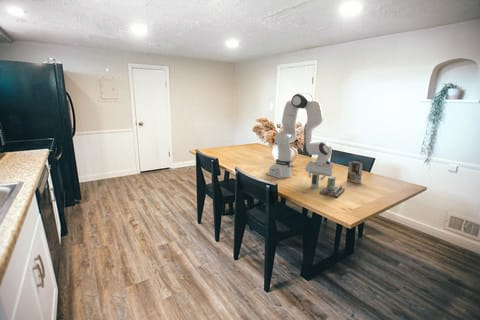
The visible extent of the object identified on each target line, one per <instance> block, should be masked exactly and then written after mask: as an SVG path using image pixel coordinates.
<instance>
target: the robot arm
mask: <svg viewBox="0 0 480 320" xmlns="http://www.w3.org/2000/svg"><path fill="white" fill-rule="evenodd" d="M299 109H302V110H305V112H306V123H305V124H304V132H303V136H304V137H303V138H304V139H303V141H304V142H303V152H304V154H305V155H306V156H308V157H309V156H317V158H316V160H315V161H307V164H306V165H305V167H304V170H305V173H308V178H310V179H312V175H311V174H312V173H314V172H316V173H320V174H319V176H321V177H320V181H323V180H324V179H325V178H326V177H330V176H331V177H333V176H332V175H333V168H334V166H333V165H334V164H333V163H332V162H330V161H329V159H330V158H331V155H332V153H333V152H332V151H333V148H332V146H331V145H330V144H327V143H325V142H324V141H323V142H322V141H317V142H312V132H313V130H314V129H315V128H317V127H319V126H320V125H321V124H322V122H323V119H324V118H323V110H322V107H321V103H320V101H319V100H317V99H314V98H313V96H312V95H311V94H309V93H296V94H294V95H293V96H292V97H291V99H290V100H288V101H286V102H285V106H284V109H283V114H282V120H281V124H282V131H279V132H278V133H276V134H275V136H274V143H275V144H276V146H277V151H278V154H277V159H275V163H273V164H272V165H270V167H269V168H268V170H267V171H266V174H265V175H269V176H271V177H275V178H277V179H281V178H282V179H283V178H284V179H285V178H291V177H293V174H292V150H291V147H290V144H291V143H293V142H295V140H297V136H298V135H297V132H296V121H297V118H298V117H297V116H298V111H299Z"/></svg>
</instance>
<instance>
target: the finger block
mask: <svg viewBox="0 0 480 320" xmlns="http://www.w3.org/2000/svg"><path fill="white" fill-rule="evenodd" d="M311 174H312V175H311V185H310V186H311V188H314V189H317V188H318V187H319V182H320V175H319V174H320V173H316V172H314V173H311Z"/></svg>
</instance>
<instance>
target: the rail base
mask: <svg viewBox="0 0 480 320" xmlns="http://www.w3.org/2000/svg"><path fill="white" fill-rule="evenodd" d="M344 191H345V188H344V187H343V185H341V184H340V185H339V186H336V177H335V176H330V177H329V176H327V184H326V186H325V187H324V188H323V189H322V190H320V191H319V194H320V195H323V196H327V197H332V198H335V199H337V198H339V197H340V195H342V193H344Z"/></svg>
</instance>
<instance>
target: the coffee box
mask: <svg viewBox="0 0 480 320" xmlns="http://www.w3.org/2000/svg"><path fill="white" fill-rule="evenodd" d="M363 167H364V162H360V161H355V160H351V161H348V169H347V176H346V177H347V178H346V181H347V182H352V183H355V184H359V183H361V181H362V175H363Z"/></svg>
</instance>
